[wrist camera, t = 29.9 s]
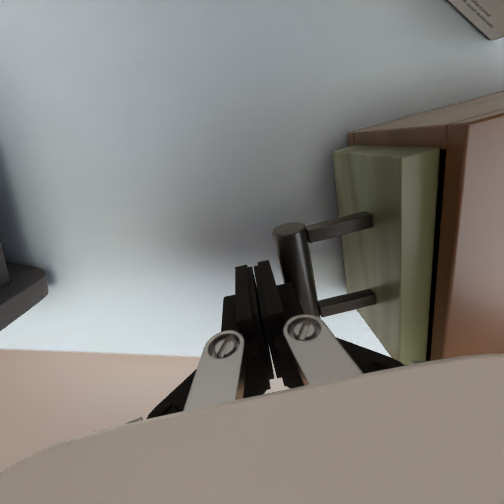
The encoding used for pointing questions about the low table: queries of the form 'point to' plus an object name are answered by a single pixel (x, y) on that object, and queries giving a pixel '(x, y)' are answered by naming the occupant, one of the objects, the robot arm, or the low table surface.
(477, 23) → the ink box
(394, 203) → the drawer
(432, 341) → the cabinet
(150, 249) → the low table surface
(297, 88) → the low table surface
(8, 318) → the light fixture
